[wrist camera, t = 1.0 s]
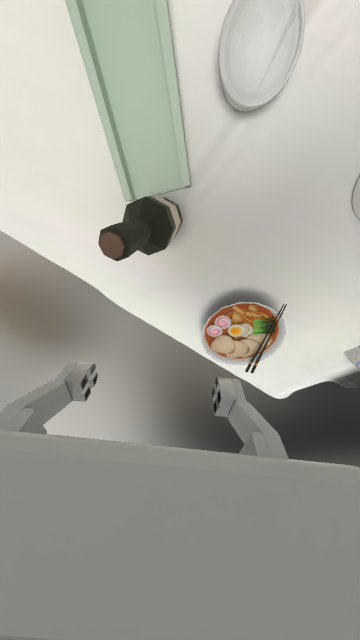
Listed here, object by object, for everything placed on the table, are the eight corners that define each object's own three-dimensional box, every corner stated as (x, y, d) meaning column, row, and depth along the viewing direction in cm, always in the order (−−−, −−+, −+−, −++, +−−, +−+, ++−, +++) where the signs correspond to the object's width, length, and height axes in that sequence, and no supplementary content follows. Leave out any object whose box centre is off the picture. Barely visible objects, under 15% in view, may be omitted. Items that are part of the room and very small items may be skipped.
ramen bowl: (211, 278, 49) (213, 291, 42) (293, 294, 49) (307, 309, 42) (193, 344, 63) (192, 362, 56) (256, 356, 63) (263, 375, 56)
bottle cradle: (153, -113, 22) (145, -161, 19) (191, 186, 38) (190, 184, 35) (57, -55, 24) (38, -90, 22) (130, 201, 40) (125, 201, 38)
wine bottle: (140, 217, 42) (53, 241, 17) (165, 188, 38) (98, 165, 14) (165, 245, 45) (119, 299, 20) (189, 220, 41) (171, 250, 17)
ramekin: (282, 111, 31) (295, 96, 26) (217, 127, 33) (219, 115, 28) (296, -6, 25) (316, -51, 20) (215, 21, 27) (217, -14, 22)
